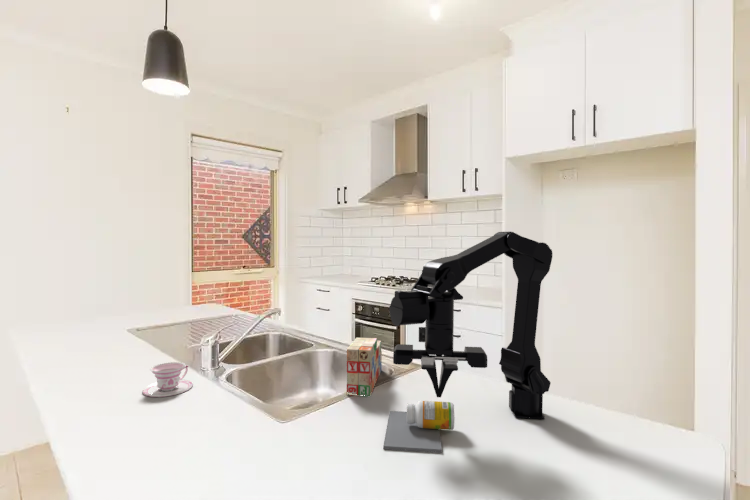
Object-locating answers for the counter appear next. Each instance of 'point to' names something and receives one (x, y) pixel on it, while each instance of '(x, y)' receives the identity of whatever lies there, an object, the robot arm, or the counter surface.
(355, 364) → the stack of blocks
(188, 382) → the teacup
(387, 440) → the charcoal mat
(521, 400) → the robot arm
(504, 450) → the counter surface
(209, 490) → the counter surface
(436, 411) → the supplement bottle
